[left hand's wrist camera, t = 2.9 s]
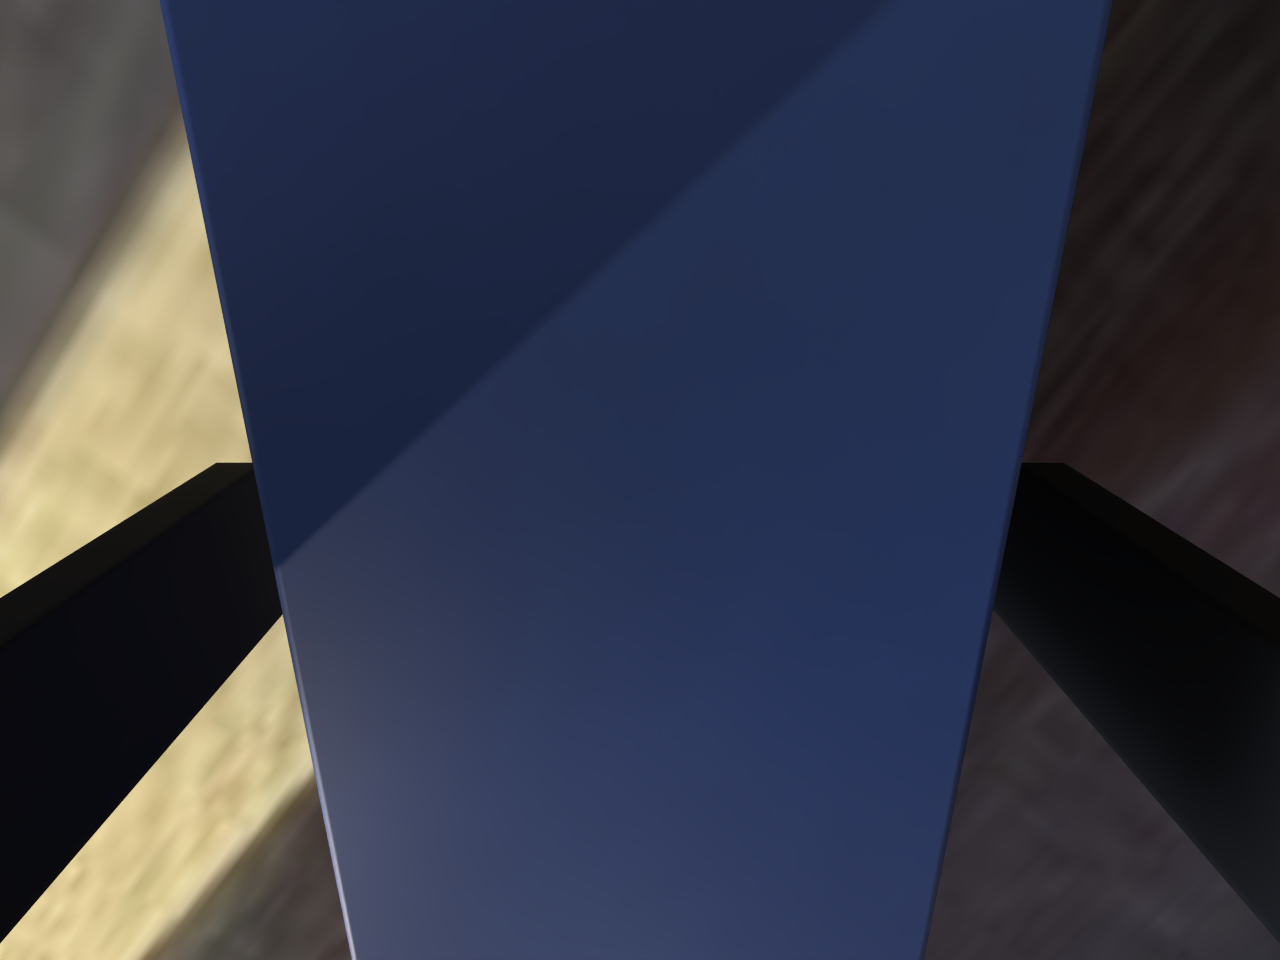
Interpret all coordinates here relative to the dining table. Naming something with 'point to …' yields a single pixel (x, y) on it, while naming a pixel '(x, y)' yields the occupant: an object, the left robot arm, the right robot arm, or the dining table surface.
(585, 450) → the bar
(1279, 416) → the dining table surface
